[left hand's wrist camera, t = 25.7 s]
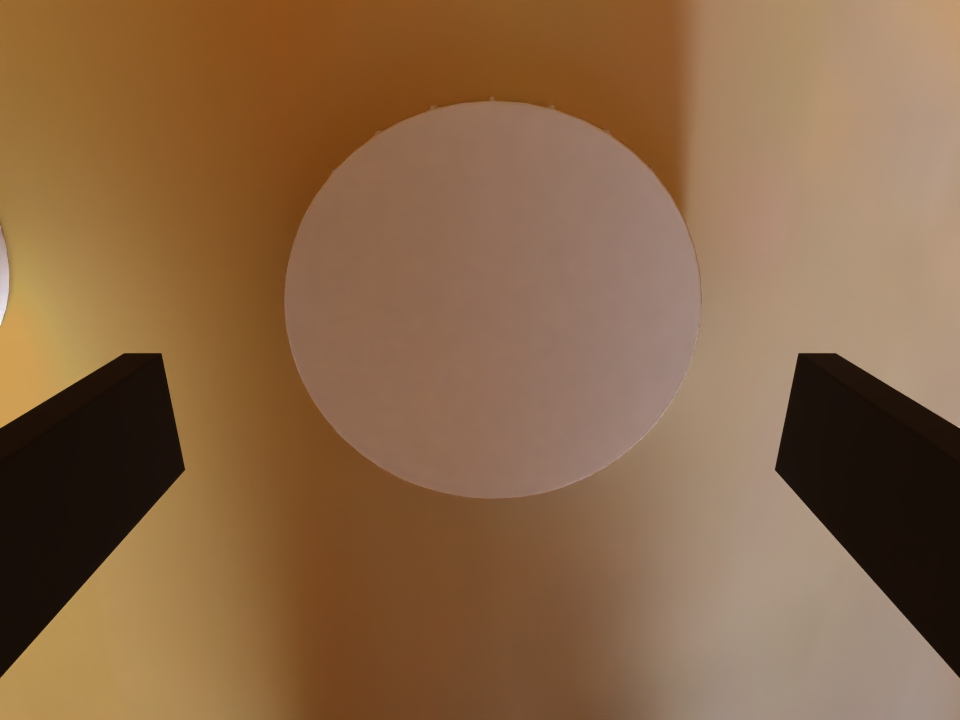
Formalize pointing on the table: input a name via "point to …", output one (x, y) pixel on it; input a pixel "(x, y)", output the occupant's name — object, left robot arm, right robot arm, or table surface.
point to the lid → (492, 299)
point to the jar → (3, 276)
